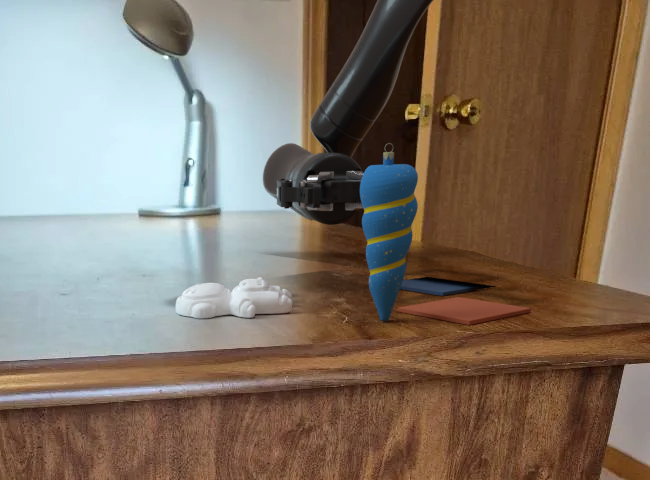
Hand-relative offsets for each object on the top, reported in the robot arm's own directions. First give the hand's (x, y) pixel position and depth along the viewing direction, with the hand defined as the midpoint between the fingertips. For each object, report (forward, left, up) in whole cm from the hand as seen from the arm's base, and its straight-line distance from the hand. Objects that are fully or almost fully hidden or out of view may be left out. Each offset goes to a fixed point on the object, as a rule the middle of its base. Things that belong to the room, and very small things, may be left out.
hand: (359, 195), depth 79 cm
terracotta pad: (-4, +11, -10) cm, 16 cm away
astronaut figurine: (+12, -5, -11) cm, 17 cm away
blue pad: (-14, -1, -10) cm, 17 cm away
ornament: (+5, +9, -11) cm, 15 cm away
